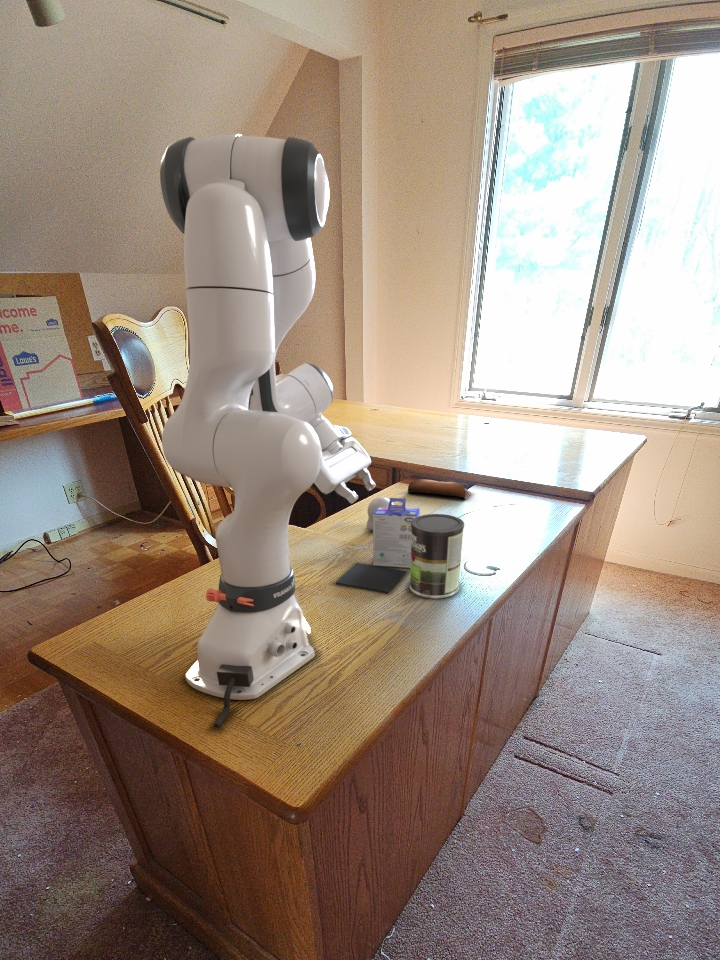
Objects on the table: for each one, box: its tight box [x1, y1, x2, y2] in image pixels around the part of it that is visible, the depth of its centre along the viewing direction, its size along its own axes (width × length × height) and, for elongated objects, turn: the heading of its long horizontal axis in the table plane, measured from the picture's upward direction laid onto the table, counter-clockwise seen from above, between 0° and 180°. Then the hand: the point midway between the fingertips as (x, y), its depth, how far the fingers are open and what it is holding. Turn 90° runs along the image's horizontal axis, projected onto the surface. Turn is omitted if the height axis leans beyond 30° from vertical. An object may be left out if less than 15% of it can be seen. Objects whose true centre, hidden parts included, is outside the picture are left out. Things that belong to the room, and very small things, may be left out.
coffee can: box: [409, 513, 465, 600], centre depth 112 cm, size 10×10×14 cm
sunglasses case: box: [407, 478, 472, 500], centre depth 170 cm, size 18×7×7 cm, turn 64°
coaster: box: [335, 562, 408, 594], centre depth 121 cm, size 11×12×1 cm
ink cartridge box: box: [372, 497, 421, 569], centre depth 124 cm, size 10×6×14 cm, turn 78°
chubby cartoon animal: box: [366, 496, 403, 531], centre depth 142 cm, size 7×12×8 cm, turn 56°
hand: (364, 494), depth 122 cm, fingers open, 8 cm apart
